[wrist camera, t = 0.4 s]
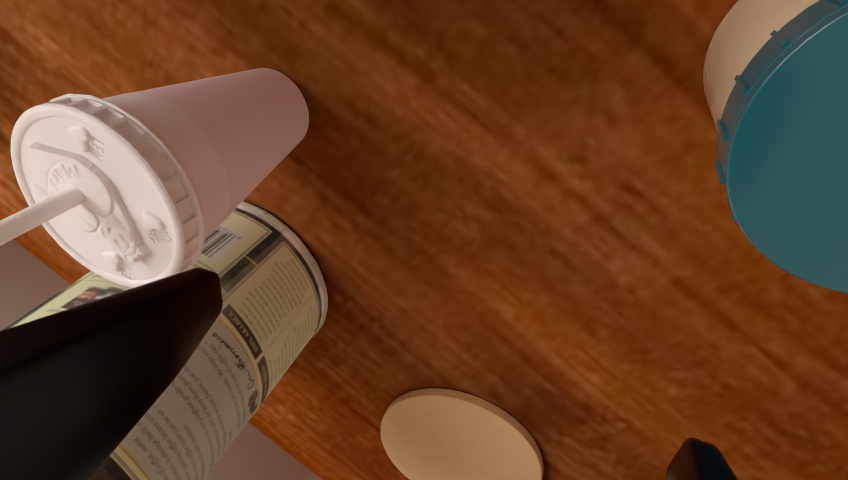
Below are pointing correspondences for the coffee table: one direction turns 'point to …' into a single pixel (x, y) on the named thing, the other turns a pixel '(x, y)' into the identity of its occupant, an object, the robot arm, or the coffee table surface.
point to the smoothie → (150, 168)
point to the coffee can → (219, 347)
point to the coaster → (457, 438)
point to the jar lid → (793, 147)
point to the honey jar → (742, 44)
